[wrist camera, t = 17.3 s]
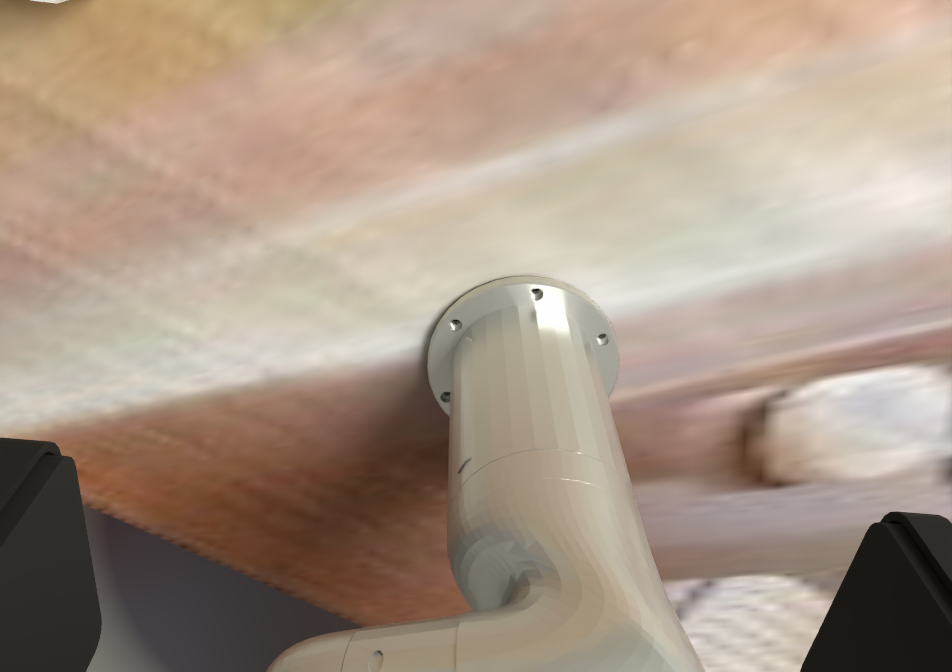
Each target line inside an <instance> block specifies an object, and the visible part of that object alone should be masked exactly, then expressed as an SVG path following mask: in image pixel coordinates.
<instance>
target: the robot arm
mask: <svg viewBox="0 0 952 672" xmlns="http://www.w3.org/2000/svg"><path fill="white" fill-rule="evenodd" d="M534 288H539V290H537V291H533V290H532V289H534ZM455 319H456V320H459V321H457V322H454V321H453V320H455ZM600 334H604V335H602V336H599V335H600ZM619 363H620V359H619V349H618V344H617V340H616V337H615V334H614V331H613V329H612V327H611V324H610V322H609V320H608V318H607V317H606V315H605V314H604V313H603V311H602V310H601V309H600V307H599V306H598V305H597V304H596V303H595V302H594V301H593V300H591V299H590V298H589V297H588V296H587V295H586V294H584V293H583V292H581V291H579V290H577V289H575V288H574V287H572V286H570V285H568V284H565V283H562V282H559V281H556V280H553V279H549V278H542V277H535V276H520V277H509V278H505V279H500V280H495V281H492V282H490V283H487V284H484V285H482V286H479V287H477V288H475V289H474V290H472V291H470V292H469V293H467V294H466V295H464V296H462V297H461V298H460V299H459V300H458V301H457V302H455V303H454V304H453V305H452V306H451V307H450V308H449V309H448V310H447V311H446V313H445V314H444V315H443V317H442V318H441V320H440V321H439V322H438V324H437V326H436V328H435V331H434V333H433V335H432V337H431V341H430V346H429V351H428V363H427V370H428V378H429V384H430V387H431V389H432V392H433V395H434V397H435V399H436V401H437V402H438V404H439V405H440V407H441V409H442V410H443V411H444V412H445V413H446V414H447V415H448V417H449V418H450V429H449V467H448V506H447V552H448V558H449V562H450V566H451V570H452V573H453V576H454V579H455V581H456V583H457V585H458V587H459V589H460V591H461V593H462V595H463V597H464V598H465V600H466V602H467V603H468V604H469V606H470V607H471V608H472V610H473V611H472V612H465V613H463V614H461V615H453V616H446V617H438V618H431V619H423V620H416V621H408V622H401V623H394V624H386V625H379V626H371V627H364V628H360V629H353V630H346V631H339V632H334V633H329V634H324V635H319V636H316V637H312V638H309V639H307V640H304V641H302V642H299V643H297V644H295V645H293V646H291V647H290V648H288V649H287V650H285V651H284V652H283V653H281V654H280V655H279V656H278V657H277V658H276V659H275V660H274V661H273V662H272V664H271V665H270V666H269V668H268V669H267V671H266V672H705V670H704V668H703V665H702V663H701V661H700V659H699V658H698V656H697V654H696V652H695V650H694V648H693V646H692V644H691V642H690V640H689V638H688V636H687V634H686V632H685V630H684V629H683V627H682V625H681V623H680V621H679V619H678V617H677V615H676V612H675V610H674V608H673V606H672V604H671V602H670V600H669V598H668V596H667V593H666V591H665V589H664V586H663V584H662V581H661V579H660V576H659V573H658V570H657V568H656V565H655V562H654V559H653V557H652V554H651V550H650V547H649V544H648V541H647V538H646V534H645V531H644V527H643V524H642V520H641V517H640V513H639V510H638V506H637V503H636V498H635V495H634V491H633V488H632V484H631V480H630V477H629V473H628V470H627V466H626V463H625V459H624V455H623V452H622V448H621V445H620V441H619V437H618V434H617V430H616V427H615V423H614V419H613V416H612V412H611V409H610V405H609V401H608V398H609V396H610V395H611V393H612V391H613V389H614V386H615V383H616V380H617V378H618V371H619ZM100 633H101V613H100V607H99V602H98V595H97V589H96V583H95V577H94V571H93V566H92V560H91V554H90V549H89V542H88V536H87V531H86V524H85V518H84V513H83V506H82V500H81V494H80V488H79V482H78V476H77V470H76V465H75V462H74V460H73V459H72V457H68V456H61V453H60V449H59V447H58V446H57V445H56V444H55V443H53V442H47V441H35V440H23V439H11V438H0V672H86V670H87V668H88V666H89V664H90V662H91V660H92V658H93V656H94V653H95V651H96V648H97V646H98V642H99V639H100ZM800 672H952V523H951V522H950V521H949V520H947V519H946V518H945V517H942V516H940V515H932V514H920V513H907V512H890V513H888V514H887V515H885V516H884V517H883V519H882V520H881V522H879V523H874V524H872V525H871V526H870V527H869V529H868V530H867V532H866V534H865V536H864V538H863V540H862V543H861V545H860V547H859V549H858V551H857V553H856V555H855V557H854V559H853V561H852V563H851V565H850V567H849V569H848V571H847V574H846V576H845V578H844V580H843V582H842V584H841V586H840V588H839V590H838V592H837V594H836V596H835V598H834V600H833V603H832V605H831V607H830V609H829V611H828V613H827V615H826V617H825V619H824V621H823V623H822V625H821V627H820V629H819V632H818V634H817V636H816V638H815V640H814V642H813V644H812V646H811V648H810V650H809V652H808V654H807V656H806V658H805V661H804V663H803V665H802V668H801V671H800Z"/></svg>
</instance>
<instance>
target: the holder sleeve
mask: <svg viewBox="0 0 952 672" xmlns="http://www.w3.org/2000/svg"><path fill="white" fill-rule="evenodd" d="M32 1H40V2H49V3H57V4H58V3H61V2H64V1H67V0H32Z"/></svg>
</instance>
